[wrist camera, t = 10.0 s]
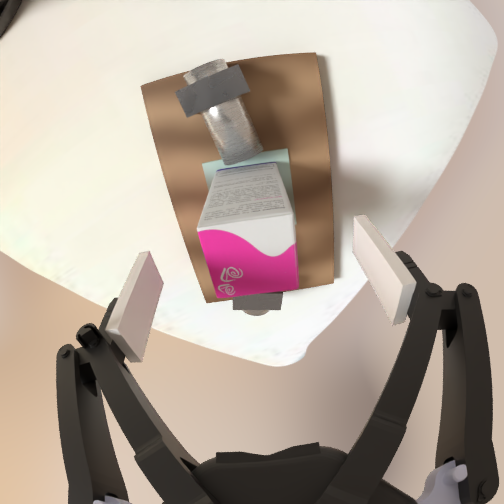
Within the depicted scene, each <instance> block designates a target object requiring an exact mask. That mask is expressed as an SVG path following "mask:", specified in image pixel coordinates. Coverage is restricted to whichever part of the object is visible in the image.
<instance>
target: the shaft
mask: <svg viewBox="0 0 504 504" xmlns="http://www.w3.org/2000/svg"><path fill="white" fill-rule="evenodd" d="M282 297H283V291H278V292H269V293H260V294H251V295H244V296H237V297H233V310H243V311H244V312H245V313H247V314H249V315H253V316H260V315H263V314H266V313H267V312H268V311H269V310H281V304H282Z"/></svg>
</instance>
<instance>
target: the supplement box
mask: <svg viewBox="0 0 504 504" xmlns="http://www.w3.org/2000/svg"><path fill="white" fill-rule="evenodd" d="M197 232H198V235H199V239H200V243H201V246H202V250H203V253H204V256H205V260H206V263H207V266H208V270H209V273H210V276H211V280H212V283H213V286H214V289H215V292H216V296H217V298H229V297H237V296H244V295H251V294H260V293H269V292H278V291H287V290H296V289H298V288H299V270H298V254H297V242H296V230H295V219H294V213H293V210H292V207H291V204H290V201H289V198H288V196H287V193H286V190H285V187H284V184H283V181H282V178H281V176H280V173H279V170H278V167H277V163H276V162H266V163H260V164H252V165H246V166H238V167H231V168H225V169H219V170H217V171H216V173H215V176H214V179H213V181H212V184H211V187H210V190H209V193H208V196H207V199H206V202H205V205H204V208H203V211H202V214H201V217H200V220H199V223H198V226H197Z"/></svg>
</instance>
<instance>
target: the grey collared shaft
mask: <svg viewBox="0 0 504 504" xmlns="http://www.w3.org/2000/svg"><path fill="white" fill-rule="evenodd" d="M183 77H184V79H185V81H186V83H187V86H186V87H184V88H182V89H180V90H178V91H176V92H175V94H176V96H177V98H178V100H179V102H180V104H181V106H182V108H183V111H184V113H185V115H186V117H187V118H188V117H191V116H193V115H195V114H197V113H199V112H200V113H201V115H202V117H203V119H204V122H205V124H206V126H207V128H208V130H209V132H210V134H211V137H212V139H213V141H214V143H215V145H216V147H217V149H218V152H219V154H220V156H221V158H222V160H223V162H224V165H233V164H237V163H240V162H243V161H245V160H248V159H250V158H252V157H254V156H256V155H257V154H259V153H260V152H262V151H263V146H262V144H261V142H260V139H259V137H258V134H257V132H256V130H255V127H254V125H253V122H252V120H251V118H250V115H249V113H248V111H247V108H246V106H245V104H244V102H243V99H242V97H241V95H242V94H245V93H248V92H250V89H249V87H248V85H247V82H246V80H245V78H244V76H243V73H242V71H241V69H240V67H239V65H238V64H237V65H235V66H232V67H229V68H228V66H227V64H226V62H225V60H224V59H218V60H215V61H211V62H209V63H206V64H203V65H201V66H199V67H197V68H195V69H193V70H191V71H189V72H188V73H186V74H185V75H184V76H183Z"/></svg>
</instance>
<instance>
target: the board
mask: <svg viewBox="0 0 504 504" xmlns="http://www.w3.org/2000/svg"><path fill="white" fill-rule="evenodd" d="M226 64H227V66H228V68H229V67H232V66H235V65H237V64H238V65H239V67H240V69H241V71H242V73H243V76H244V78H245V80H246V82H247V85H248V87H249V89H250V92H248V93H245V94H242V95H241V97H242V99H243V102H244V104H245V106H246V108H247V111H248V113H249V115H250V118H251V120H252V122H253V125H254V127H255V130H256V132H257V134H258V137H259V139H260V142H261V144H262V146H263V151H262V152H260V153H259V154H257V155H256V156H254V157H252V158H250V159H248V160H245V161H243V162H240V163H237V164H233V165H224V162H223V160H222V158H221V156H220V154H219V152H218V149H217V147H216V145H215V143H214V141H213V139H212V137H211V134H210V132H209V130H208V128H207V126H206V124H205V122H204V119H203V117H202V115H201V113H200V112H199V113H197V114H195V115H193V116H191V117H188V118H187V117H186V115H185V113H184V111H183V108H182V106H181V104H180V102H179V100H178V98H177V96H176V94H175V92H176V91H178V90H180V89H182V88H184V87H186V86H187V83H186V81H185V79H184V77H183V76H184V75H185V74H186V73H188V72H189V71H187V72H183V73H180V74H176V75H173V76H169V77H166V78H163V79H160V80H156V81H153V82H150V83H147V84H145V85H142V86H141V90H142V94H143V99H144V103H145V107H146V111H147V115H148V119H149V123H150V127H151V131H152V135H153V139H154V143H155V146H156V150H157V154H158V157H159V161H160V164H161V168H162V171H163V175H164V178H165V182H166V185H167V188H168V192H169V195H170V198H171V202H172V205H173V208H174V211H175V214H176V217H177V221H178V224H179V227H180V230H181V233H182V236H183V239H184V242H185V245H186V248H187V251H188V254H189V256H190V259H191V262H192V265H193V268H194V271H195V273H196V276H197V279H198V282H199V284H200V287H201V290H202V293H203V295H204V298H205V300H206V303H212V302H219V301H227V300H233V297H229V298H217V296H216V292H215V289H214V286H213V283H212V280H211V276H210V273H209V270H208V266H207V263H206V260H205V256H204V253H203V250H202V246H201V243H200V239H199V235H198V232H197V226H198V223H199V220H200V217H201V214H202V211H203V208H204V205H205V202H206V199H207V196H208V193H209V190H210V187H211V184H212V181H213V179H214V176H215V173H216V171H217V170H219V169H225V168H231V167H238V166H246V165H252V164H260V163H266V162H276V163H277V167H278V170H279V173H280V176H281V178H282V181H283V184H284V187H285V190H286V193H287V196H288V198H289V201H290V204H291V207H292V210H293V213H294V219H295V230H296V242H297V254H298V270H299V288H298V289H304V288H310V287H316V286H321V285H327V284H332V283H334V230H333V202H332V183H331V168H330V156H329V145H328V134H327V125H326V116H325V108H324V101H323V93H322V86H321V80H320V73H319V67H318V62H317V56H316V53H296V54H283V55H273V56H265V57H257V58H250V59H244V60H238V61H232V62H227V63H226ZM298 289H296V290H298ZM287 291H293V290H287ZM283 292H286V291H283Z"/></svg>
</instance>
